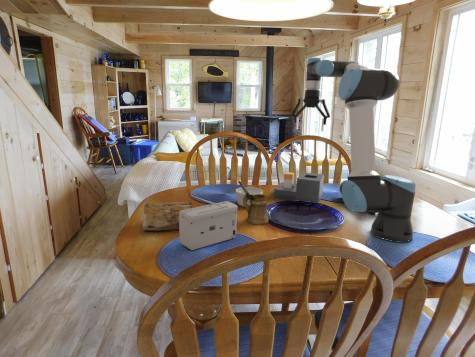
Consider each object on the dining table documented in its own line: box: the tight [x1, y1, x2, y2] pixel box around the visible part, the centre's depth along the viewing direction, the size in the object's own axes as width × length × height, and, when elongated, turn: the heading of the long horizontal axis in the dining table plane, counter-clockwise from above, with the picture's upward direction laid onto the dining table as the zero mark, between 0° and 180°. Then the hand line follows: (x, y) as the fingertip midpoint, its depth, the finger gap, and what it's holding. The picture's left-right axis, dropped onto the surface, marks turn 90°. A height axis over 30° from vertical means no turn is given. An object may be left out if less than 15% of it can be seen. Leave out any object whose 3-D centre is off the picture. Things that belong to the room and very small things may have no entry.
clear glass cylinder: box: [283, 171, 295, 189], centre depth 177 cm, size 4×4×10 cm
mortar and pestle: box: [237, 180, 269, 226], centre depth 139 cm, size 9×14×18 cm, turn 93°
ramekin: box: [235, 186, 264, 208], centre depth 163 cm, size 13×13×7 cm
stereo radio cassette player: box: [178, 194, 238, 251], centre depth 118 cm, size 21×8×20 cm, turn 127°
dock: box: [273, 171, 325, 203], centre depth 175 cm, size 16×23×12 cm
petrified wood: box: [142, 201, 193, 232], centre depth 132 cm, size 19×13×10 cm
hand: (309, 130), depth 178 cm, fingers open, 13 cm apart
